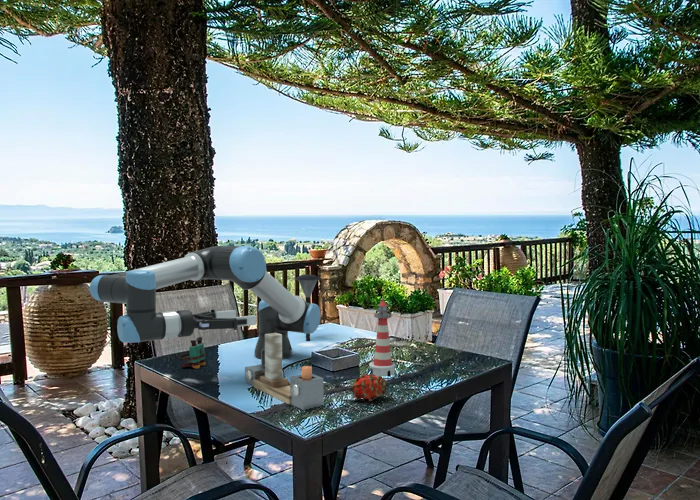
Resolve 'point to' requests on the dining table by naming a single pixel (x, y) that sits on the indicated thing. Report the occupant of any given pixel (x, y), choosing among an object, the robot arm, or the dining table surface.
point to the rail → (275, 391)
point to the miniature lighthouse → (382, 344)
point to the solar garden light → (307, 289)
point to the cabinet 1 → (254, 373)
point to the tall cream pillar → (273, 361)
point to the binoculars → (194, 354)
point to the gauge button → (306, 372)
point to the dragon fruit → (369, 387)
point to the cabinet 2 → (306, 392)
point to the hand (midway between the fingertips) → (245, 317)
